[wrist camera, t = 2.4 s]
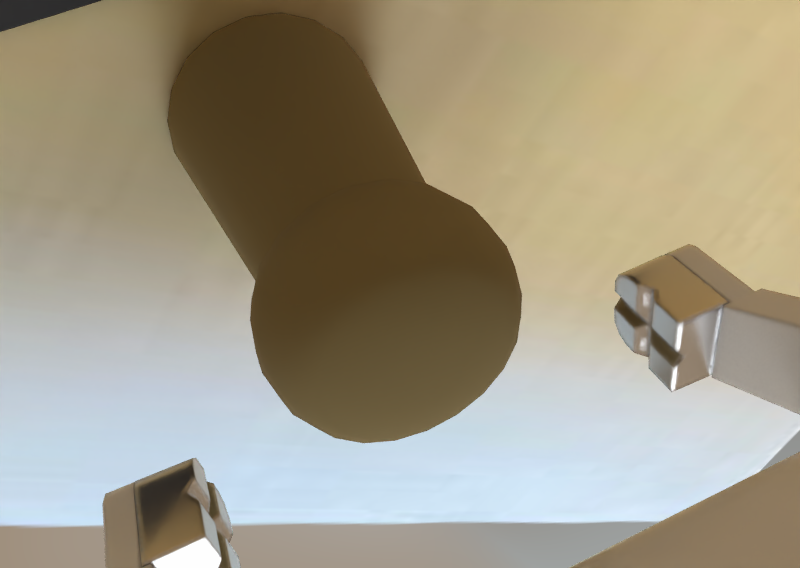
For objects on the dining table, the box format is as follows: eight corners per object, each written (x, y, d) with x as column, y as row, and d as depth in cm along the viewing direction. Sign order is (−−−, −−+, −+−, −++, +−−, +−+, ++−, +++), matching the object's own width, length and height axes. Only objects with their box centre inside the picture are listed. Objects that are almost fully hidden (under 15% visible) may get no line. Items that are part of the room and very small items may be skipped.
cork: (141, 185, 20) (200, 492, 12) (206, -24, 17) (339, 187, 9) (328, 227, 23) (475, 490, 15) (406, 57, 20) (632, 264, 12)
